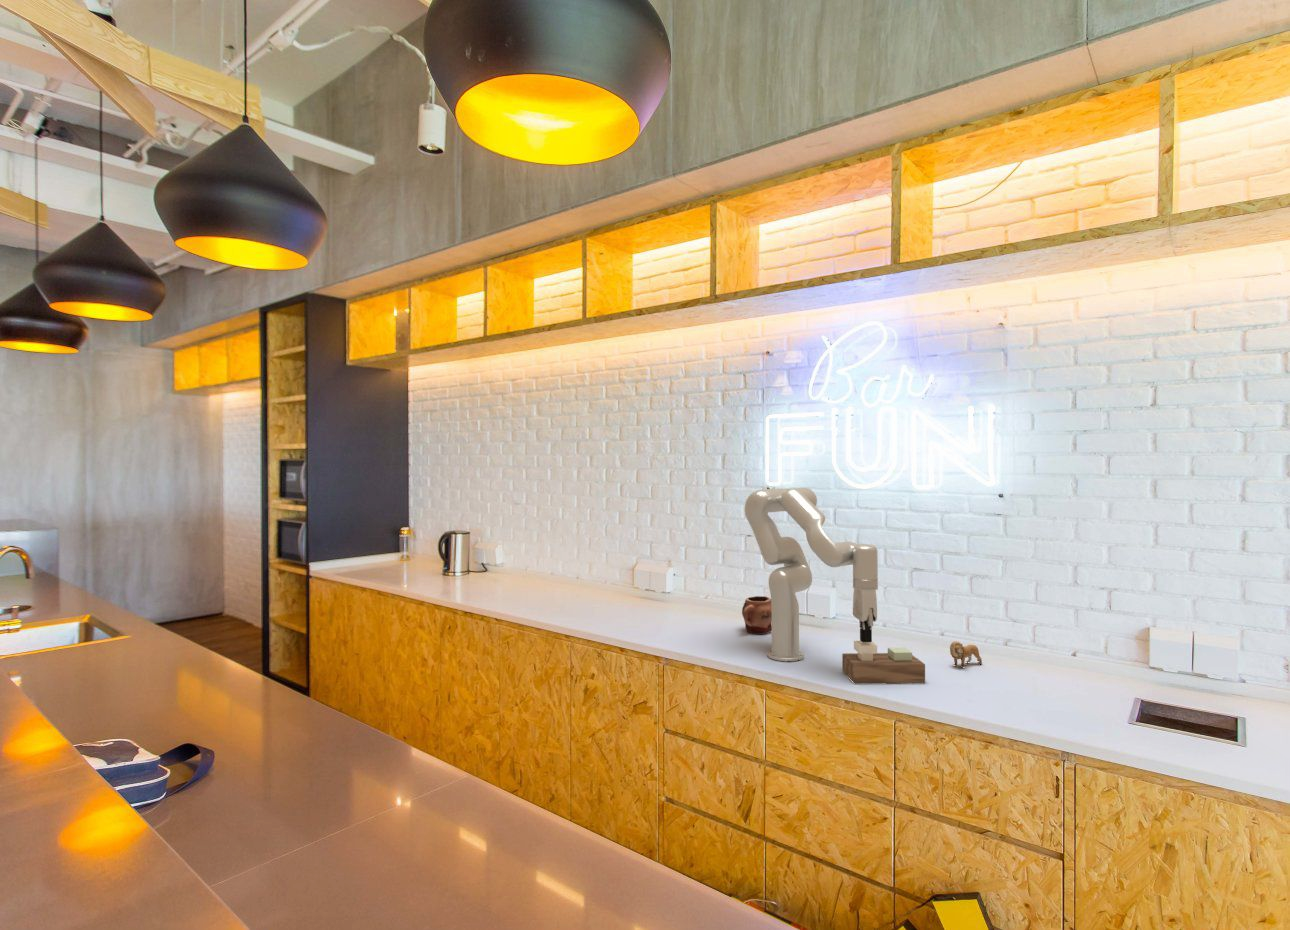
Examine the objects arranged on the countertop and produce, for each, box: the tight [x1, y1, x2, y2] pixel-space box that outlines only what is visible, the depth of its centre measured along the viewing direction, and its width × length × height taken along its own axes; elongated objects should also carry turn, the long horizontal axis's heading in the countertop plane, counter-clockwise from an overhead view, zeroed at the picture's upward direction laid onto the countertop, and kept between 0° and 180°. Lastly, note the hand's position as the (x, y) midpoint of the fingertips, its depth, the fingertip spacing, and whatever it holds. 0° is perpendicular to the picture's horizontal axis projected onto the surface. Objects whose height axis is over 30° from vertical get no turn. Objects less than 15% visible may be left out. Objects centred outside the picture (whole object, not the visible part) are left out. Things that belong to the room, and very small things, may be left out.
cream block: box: [853, 640, 878, 661], centre depth 211 cm, size 6×6×7 cm
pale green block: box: [887, 646, 913, 661], centre depth 211 cm, size 6×6×7 cm
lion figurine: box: [949, 641, 983, 668], centre depth 223 cm, size 15×5×9 cm, turn 123°
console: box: [841, 652, 926, 685], centre depth 211 cm, size 12×22×6 cm, turn 90°
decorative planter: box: [741, 595, 772, 635], centre depth 267 cm, size 20×12×14 cm, turn 145°
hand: (865, 641), depth 211 cm, fingers closed
